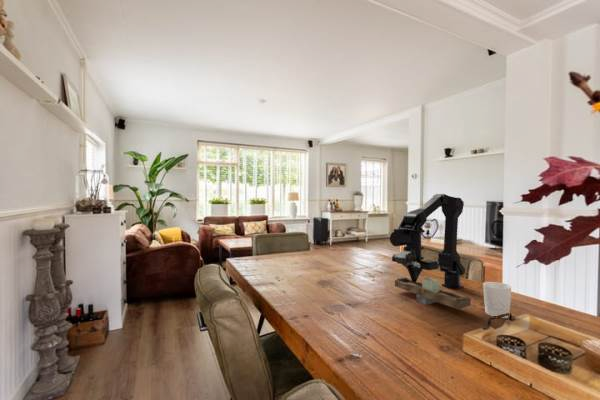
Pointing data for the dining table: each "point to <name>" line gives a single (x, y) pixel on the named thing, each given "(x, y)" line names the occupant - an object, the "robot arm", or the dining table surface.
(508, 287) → the white cup
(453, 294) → the beam
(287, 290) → the dining table surface
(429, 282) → the pale green cube
